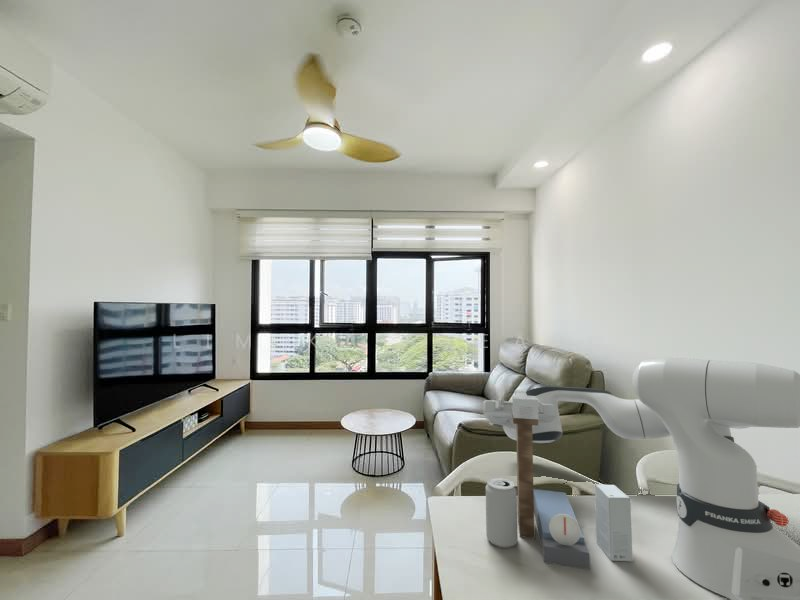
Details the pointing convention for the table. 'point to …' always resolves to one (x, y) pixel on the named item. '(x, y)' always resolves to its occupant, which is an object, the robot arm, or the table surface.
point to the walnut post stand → (525, 475)
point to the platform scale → (559, 530)
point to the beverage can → (501, 512)
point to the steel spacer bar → (524, 405)
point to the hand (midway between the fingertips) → (519, 402)
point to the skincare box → (613, 522)
